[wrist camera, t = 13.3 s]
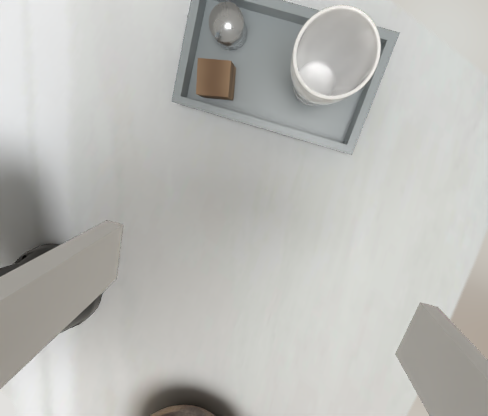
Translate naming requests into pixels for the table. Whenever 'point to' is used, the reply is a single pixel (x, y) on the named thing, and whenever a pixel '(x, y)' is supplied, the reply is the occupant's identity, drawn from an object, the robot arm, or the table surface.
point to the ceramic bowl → (183, 411)
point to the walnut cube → (215, 79)
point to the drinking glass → (334, 55)
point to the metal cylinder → (228, 26)
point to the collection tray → (272, 75)
